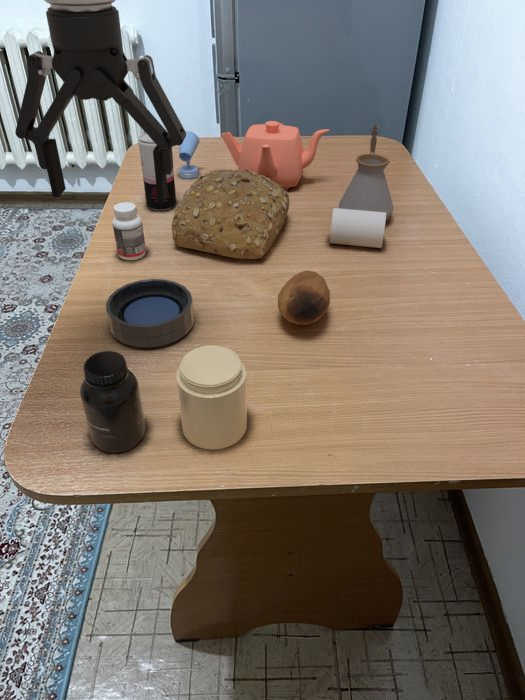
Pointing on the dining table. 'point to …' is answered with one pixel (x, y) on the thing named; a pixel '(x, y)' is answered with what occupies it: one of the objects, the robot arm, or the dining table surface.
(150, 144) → the beverage can
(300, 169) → the teapot
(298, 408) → the dining table surface
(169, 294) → the bowl
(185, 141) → the spotlight
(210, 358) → the jar
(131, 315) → the jar lid
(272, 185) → the bread
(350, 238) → the cup
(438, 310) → the dining table surface
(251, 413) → the dining table surface
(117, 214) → the pill bottle
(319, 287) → the potato
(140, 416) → the supplement bottle
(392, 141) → the dining table surface
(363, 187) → the coffee pot
